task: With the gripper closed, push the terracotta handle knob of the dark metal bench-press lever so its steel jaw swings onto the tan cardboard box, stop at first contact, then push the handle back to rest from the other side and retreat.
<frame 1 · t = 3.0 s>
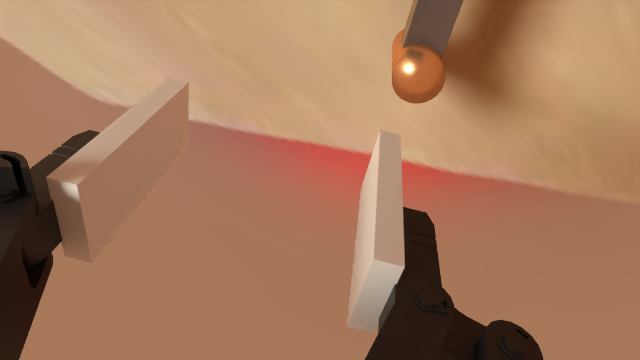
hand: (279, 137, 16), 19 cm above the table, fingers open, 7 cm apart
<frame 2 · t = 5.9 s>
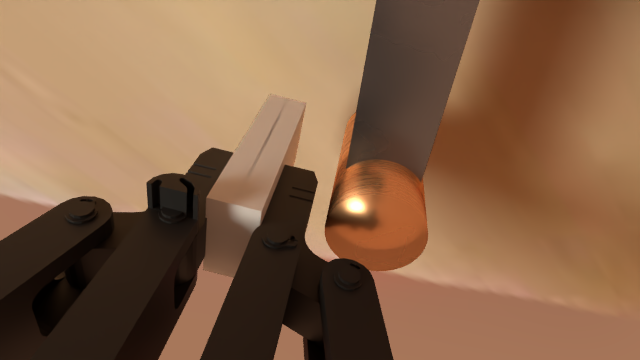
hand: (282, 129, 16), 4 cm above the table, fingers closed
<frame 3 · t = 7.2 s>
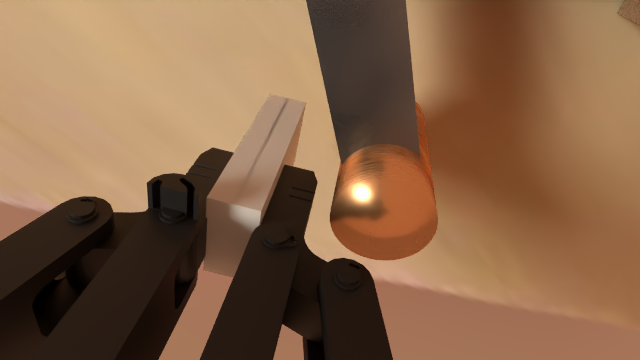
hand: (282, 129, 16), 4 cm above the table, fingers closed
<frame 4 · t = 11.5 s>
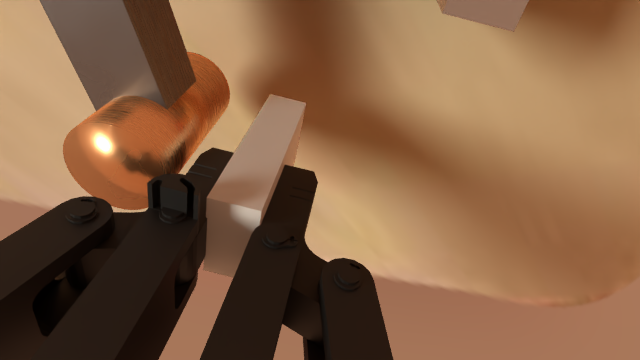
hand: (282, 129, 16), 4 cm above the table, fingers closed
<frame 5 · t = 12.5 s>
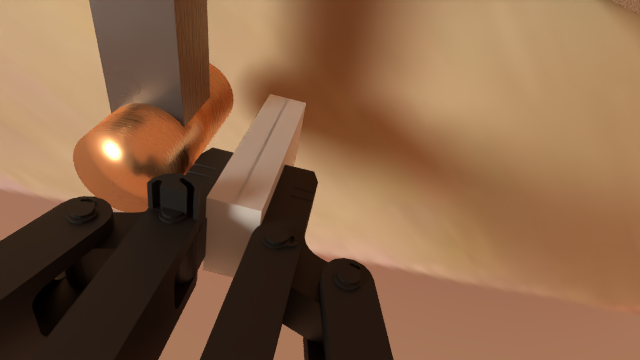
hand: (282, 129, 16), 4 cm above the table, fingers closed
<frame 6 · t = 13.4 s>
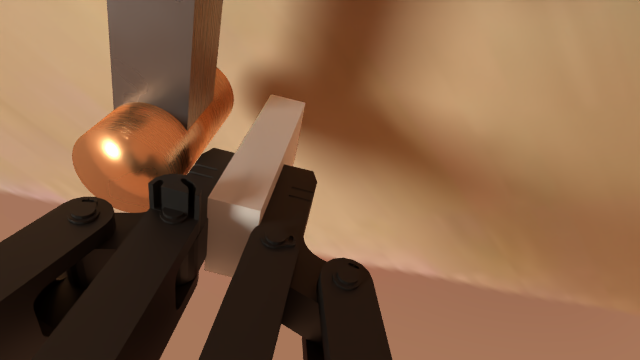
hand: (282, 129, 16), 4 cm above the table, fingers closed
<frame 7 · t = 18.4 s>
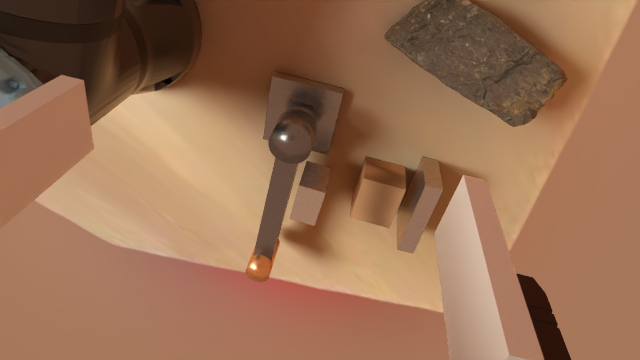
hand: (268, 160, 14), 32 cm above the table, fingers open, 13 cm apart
rock: (469, 43, 42), on the table
tan cardboard box: (378, 180, 52), on the table
press frame: (303, 111, 48), on the table
lever: (288, 204, 49), point 6 cm above the table, hinge at -3.1°
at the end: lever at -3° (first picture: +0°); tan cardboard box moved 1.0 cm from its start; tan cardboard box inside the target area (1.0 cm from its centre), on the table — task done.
